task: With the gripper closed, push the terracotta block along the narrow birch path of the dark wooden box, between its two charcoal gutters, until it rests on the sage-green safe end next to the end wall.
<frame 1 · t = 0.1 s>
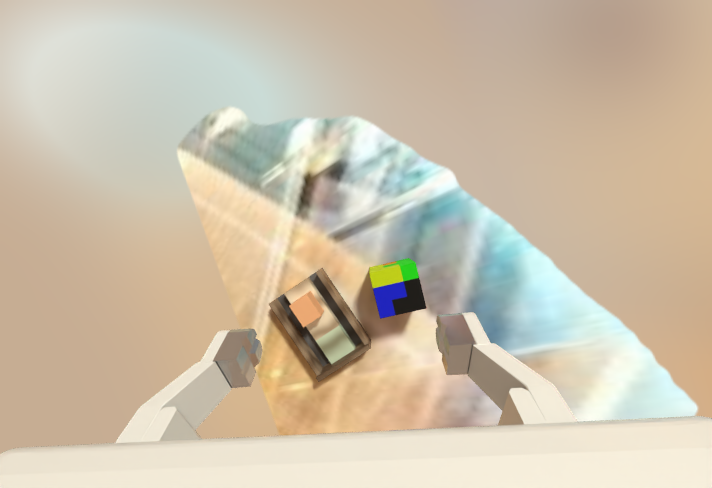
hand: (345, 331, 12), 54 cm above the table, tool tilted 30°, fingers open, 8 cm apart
block: (309, 306, 65), point 2 cm above the table, touching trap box
puzzle toy: (393, 282, 66), on the table
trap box: (322, 319, 67), on the table
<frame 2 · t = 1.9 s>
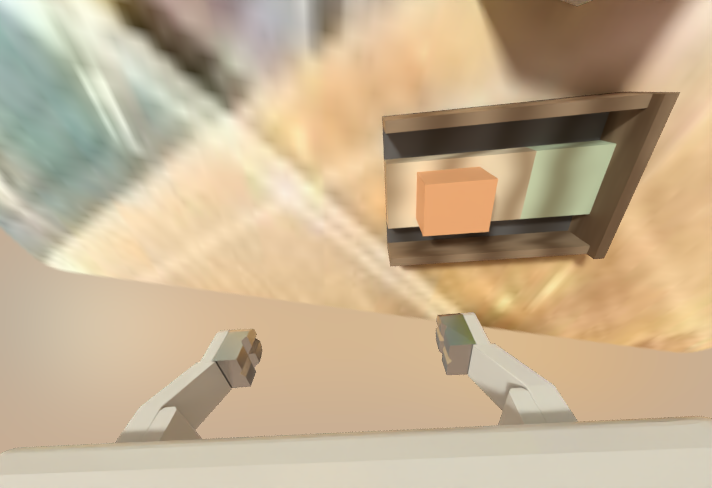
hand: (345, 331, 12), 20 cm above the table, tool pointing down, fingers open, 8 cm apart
block: (446, 193, 27), point 2 cm above the table, touching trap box
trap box: (486, 182, 29), on the table
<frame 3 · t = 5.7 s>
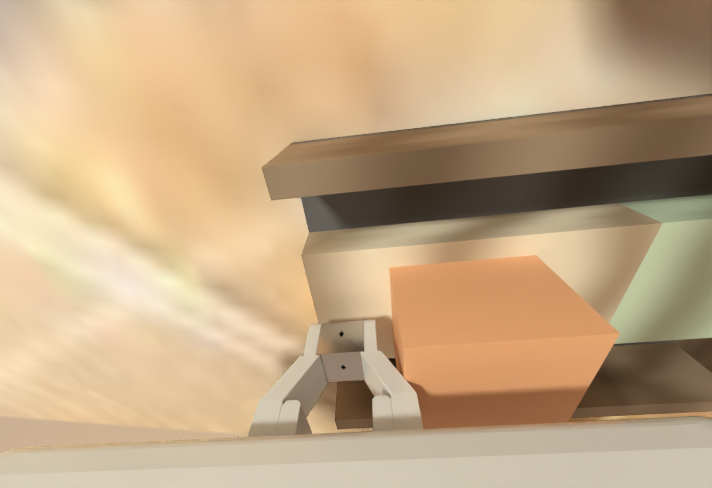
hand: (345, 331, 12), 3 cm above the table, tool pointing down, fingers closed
block: (456, 305, 12), point 3 cm above the table, touching gripper
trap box: (525, 266, 14), on the table
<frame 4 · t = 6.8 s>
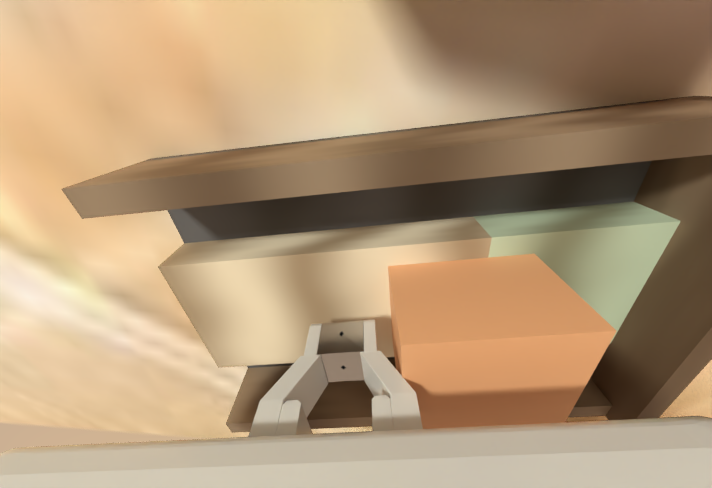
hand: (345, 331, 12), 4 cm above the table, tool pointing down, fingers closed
block: (455, 304, 12), point 3 cm above the table, touching gripper
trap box: (406, 275, 15), on the table
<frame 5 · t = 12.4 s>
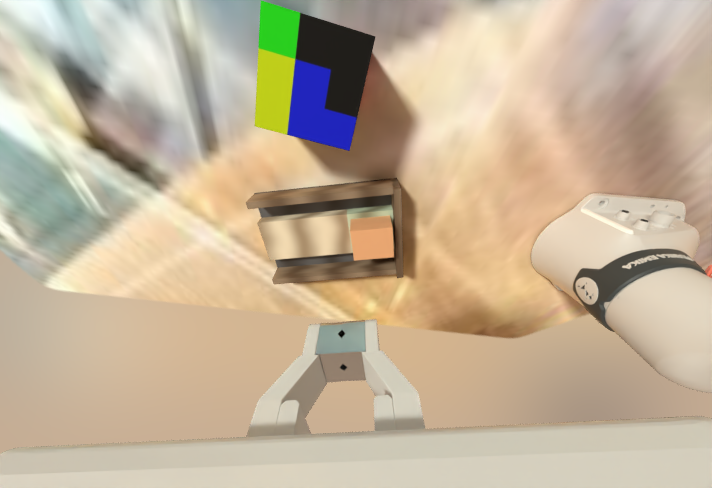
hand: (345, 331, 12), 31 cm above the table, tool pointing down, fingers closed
block: (371, 231, 41), point 2 cm above the table, touching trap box
puzzle toy: (323, 85, 34), on the table
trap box: (332, 228, 44), on the table
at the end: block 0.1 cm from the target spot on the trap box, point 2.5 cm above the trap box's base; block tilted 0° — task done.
